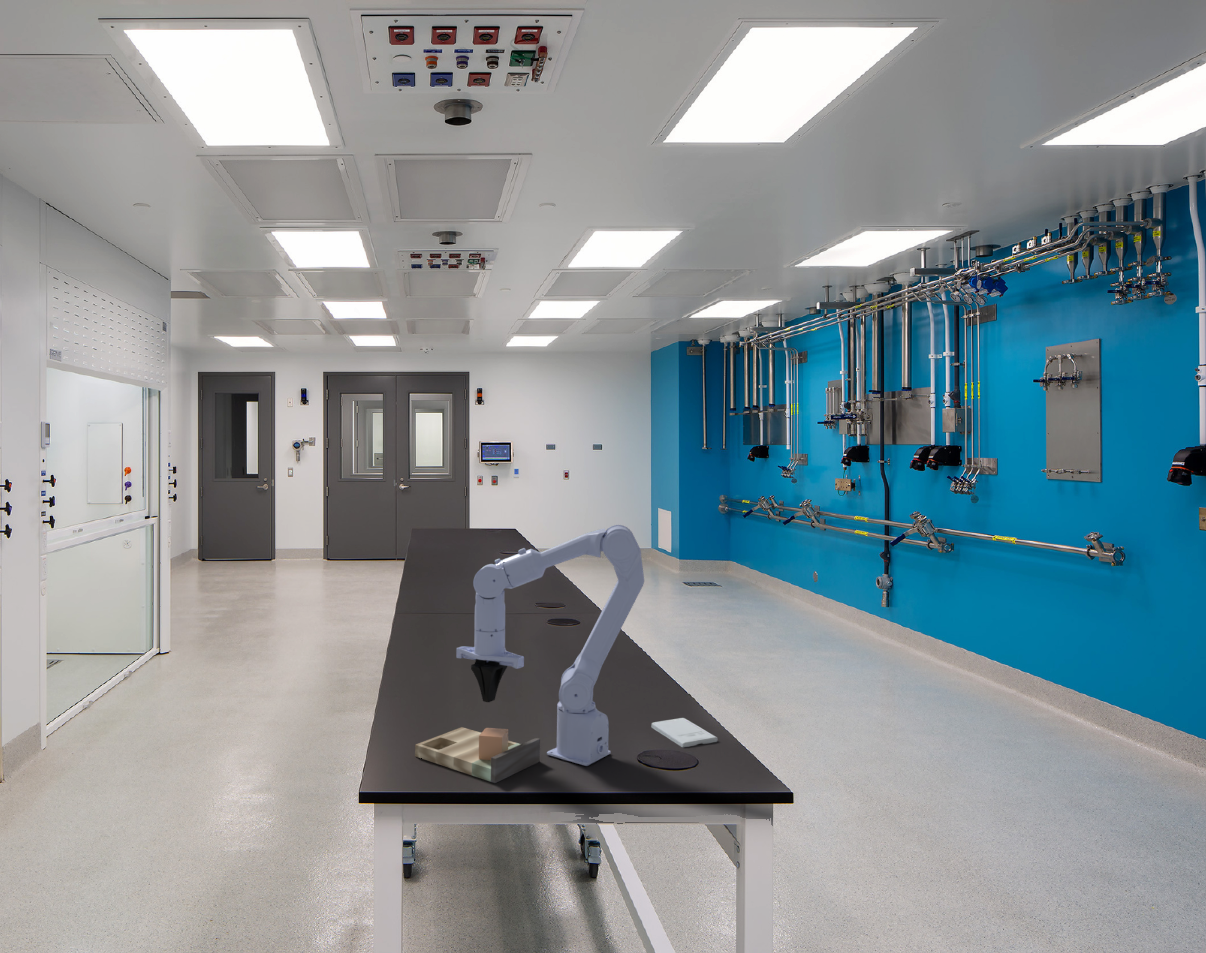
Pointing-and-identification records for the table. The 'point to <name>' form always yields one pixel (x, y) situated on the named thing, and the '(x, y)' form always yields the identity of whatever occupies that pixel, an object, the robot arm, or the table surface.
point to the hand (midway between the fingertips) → (488, 700)
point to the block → (492, 742)
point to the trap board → (477, 755)
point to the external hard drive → (683, 732)
